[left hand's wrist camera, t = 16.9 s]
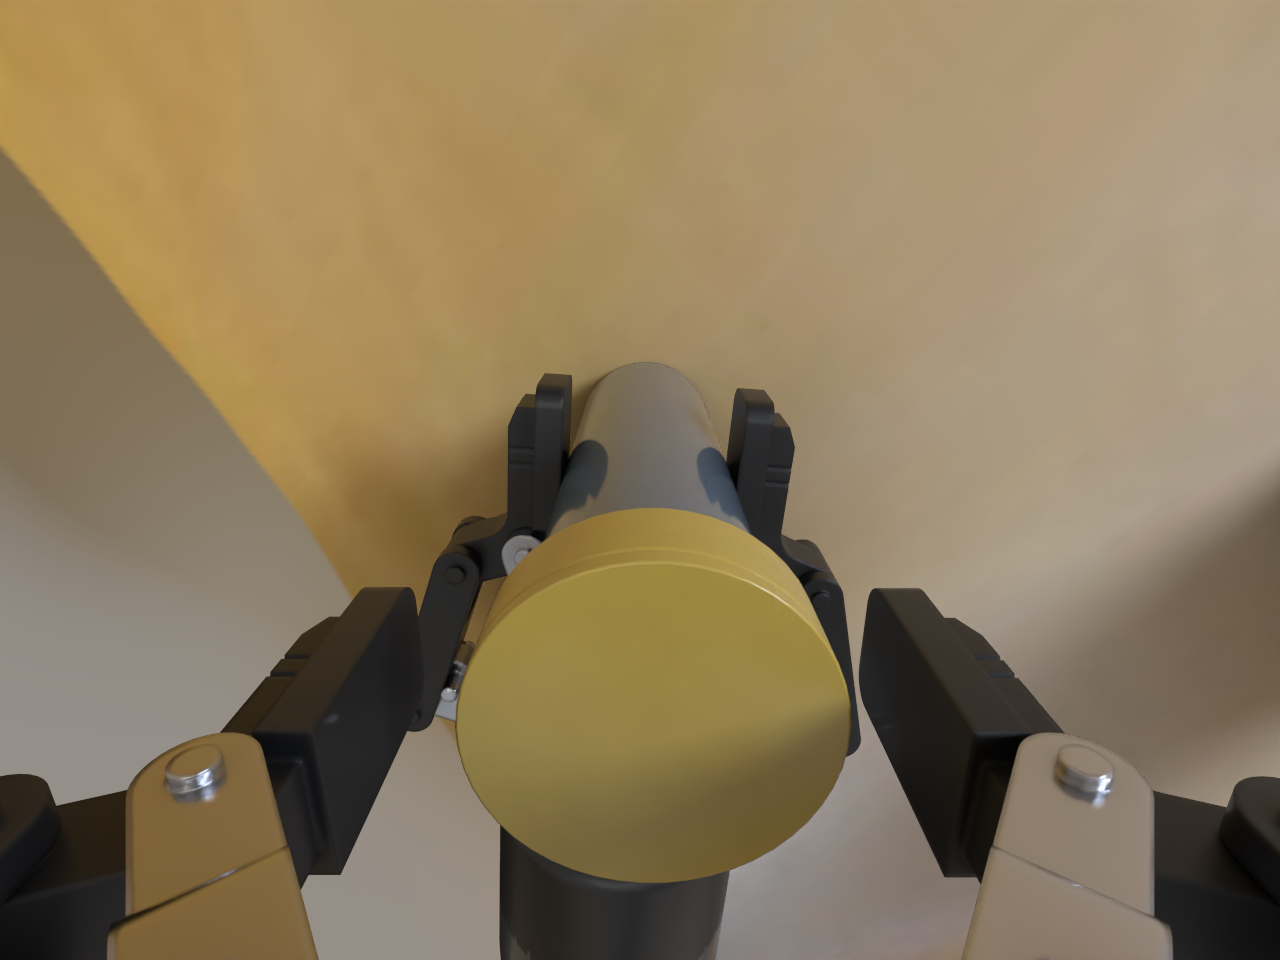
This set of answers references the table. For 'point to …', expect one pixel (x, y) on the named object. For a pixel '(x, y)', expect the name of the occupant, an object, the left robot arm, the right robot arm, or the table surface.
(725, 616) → the lid
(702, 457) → the blue grey cylinder
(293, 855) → the left robot arm
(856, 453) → the table surface
